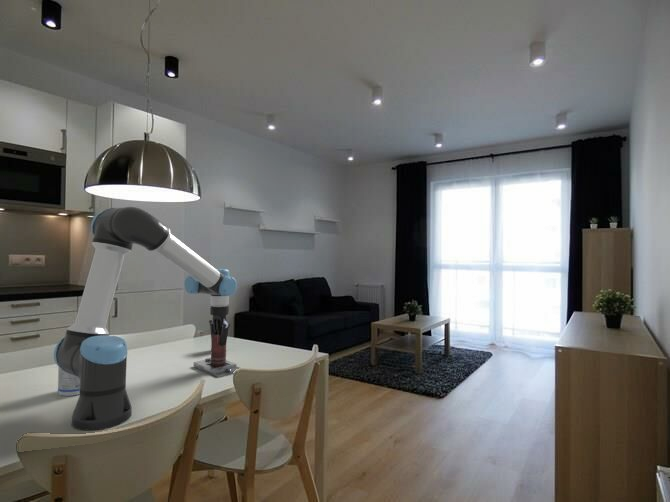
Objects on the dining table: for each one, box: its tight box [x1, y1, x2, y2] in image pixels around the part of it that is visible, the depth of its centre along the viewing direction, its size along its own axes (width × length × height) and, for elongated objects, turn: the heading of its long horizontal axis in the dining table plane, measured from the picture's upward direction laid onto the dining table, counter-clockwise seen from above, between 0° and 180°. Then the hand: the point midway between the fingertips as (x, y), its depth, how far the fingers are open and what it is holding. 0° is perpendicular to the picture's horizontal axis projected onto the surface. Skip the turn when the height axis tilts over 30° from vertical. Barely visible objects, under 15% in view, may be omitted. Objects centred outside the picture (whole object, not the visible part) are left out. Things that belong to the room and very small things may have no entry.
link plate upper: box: [193, 357, 237, 372], centre depth 168 cm, size 12×14×3 cm
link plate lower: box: [199, 365, 241, 379], centre depth 164 cm, size 12×14×2 cm
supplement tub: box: [57, 366, 80, 397], centre depth 136 cm, size 10×10×15 cm
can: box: [210, 333, 227, 368], centre depth 166 cm, size 6×6×14 cm
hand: (218, 361), depth 166 cm, fingers closed
